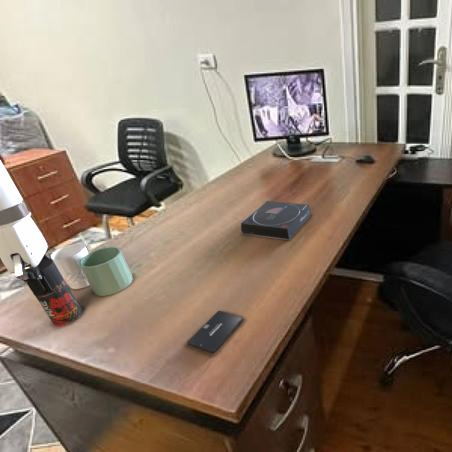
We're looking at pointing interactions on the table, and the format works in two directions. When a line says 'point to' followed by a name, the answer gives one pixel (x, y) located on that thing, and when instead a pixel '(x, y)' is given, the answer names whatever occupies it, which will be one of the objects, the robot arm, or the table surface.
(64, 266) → the white cup
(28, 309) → the table surface
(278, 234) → the portable cd player
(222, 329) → the solid state drive
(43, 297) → the deodorant
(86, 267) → the pen holder
